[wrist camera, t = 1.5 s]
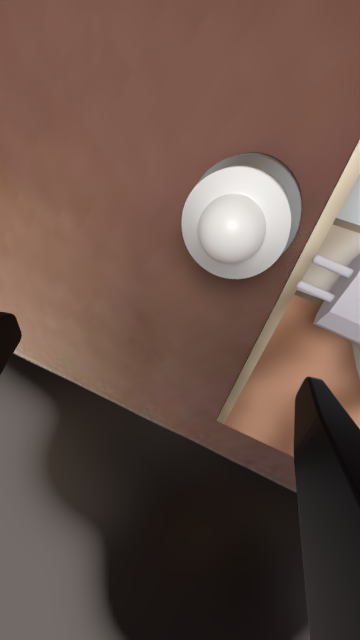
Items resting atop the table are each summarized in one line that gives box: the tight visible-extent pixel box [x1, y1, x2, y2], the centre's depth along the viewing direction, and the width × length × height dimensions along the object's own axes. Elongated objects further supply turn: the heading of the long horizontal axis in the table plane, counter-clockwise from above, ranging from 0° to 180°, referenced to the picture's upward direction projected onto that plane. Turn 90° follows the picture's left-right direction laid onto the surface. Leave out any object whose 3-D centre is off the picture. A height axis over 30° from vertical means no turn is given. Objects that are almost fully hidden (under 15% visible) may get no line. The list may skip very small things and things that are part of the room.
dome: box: [182, 165, 292, 279], centre depth 15 cm, size 6×6×3 cm
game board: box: [198, 140, 360, 457], centre depth 20 cm, size 23×29×2 cm
